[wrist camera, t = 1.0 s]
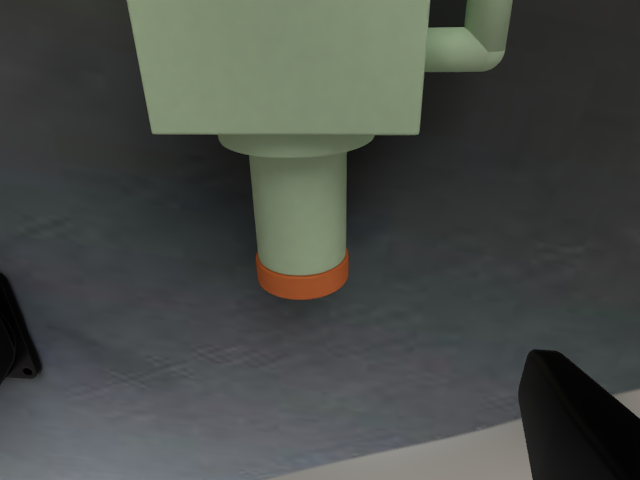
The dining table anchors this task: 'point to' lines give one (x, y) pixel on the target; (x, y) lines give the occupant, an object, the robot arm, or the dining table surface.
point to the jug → (301, 102)
